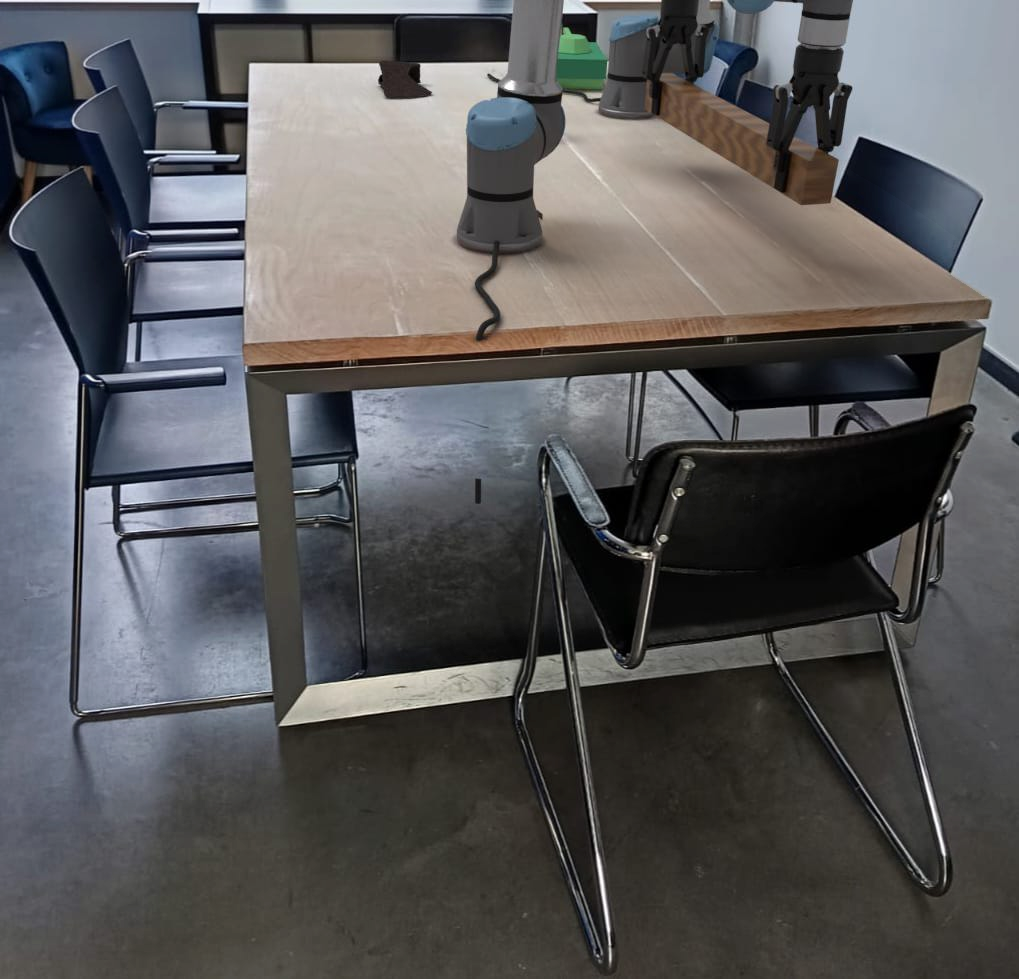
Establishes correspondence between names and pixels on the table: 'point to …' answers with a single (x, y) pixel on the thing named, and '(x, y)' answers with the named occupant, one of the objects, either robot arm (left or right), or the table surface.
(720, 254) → the table surface
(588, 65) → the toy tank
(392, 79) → the axe head
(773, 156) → the post
